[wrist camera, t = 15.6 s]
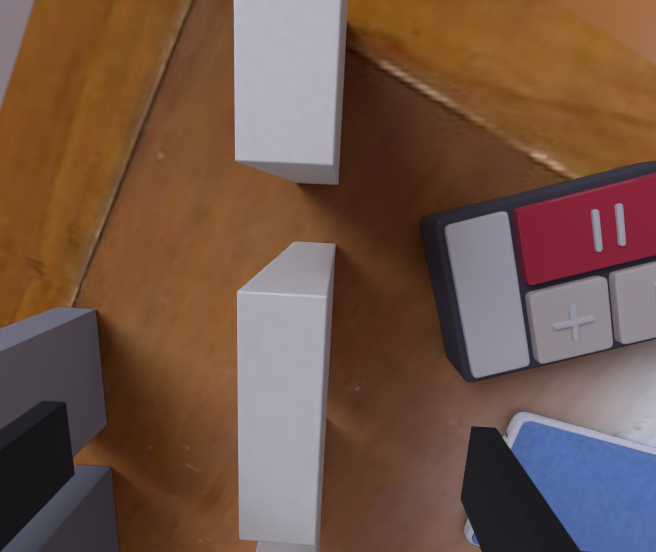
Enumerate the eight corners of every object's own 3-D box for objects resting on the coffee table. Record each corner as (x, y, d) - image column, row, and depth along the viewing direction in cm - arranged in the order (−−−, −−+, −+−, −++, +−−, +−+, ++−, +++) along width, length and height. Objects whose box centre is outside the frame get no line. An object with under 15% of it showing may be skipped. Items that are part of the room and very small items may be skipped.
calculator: (710, 334, 22) (470, 391, 22) (647, 313, 26) (447, 361, 26) (703, 153, 19) (438, 220, 20) (636, 162, 24) (418, 217, 24)
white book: (293, 241, 25) (236, 291, 11) (335, 243, 25) (328, 296, 11) (290, 369, 27) (238, 540, 14) (329, 372, 27) (315, 546, 14)
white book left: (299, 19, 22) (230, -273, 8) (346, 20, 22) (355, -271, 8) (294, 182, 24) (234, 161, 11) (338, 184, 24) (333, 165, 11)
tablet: (458, 531, 30) (463, 546, 29) (513, 403, 27) (522, 414, 26) (673, 588, 30) (688, 605, 29) (749, 467, 28) (769, 481, 26)
